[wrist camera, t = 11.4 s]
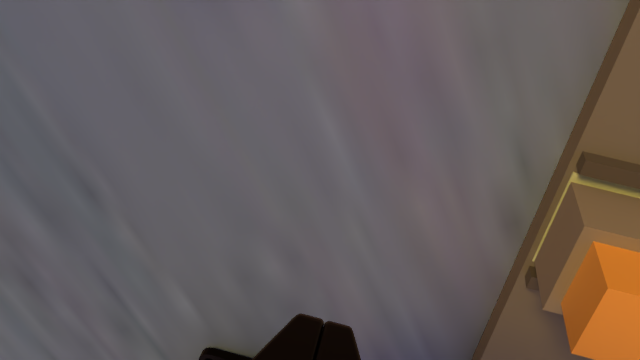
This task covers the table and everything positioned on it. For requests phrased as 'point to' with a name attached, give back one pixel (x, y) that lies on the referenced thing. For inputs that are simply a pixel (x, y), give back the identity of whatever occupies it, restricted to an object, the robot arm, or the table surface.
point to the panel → (574, 166)
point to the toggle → (594, 272)
